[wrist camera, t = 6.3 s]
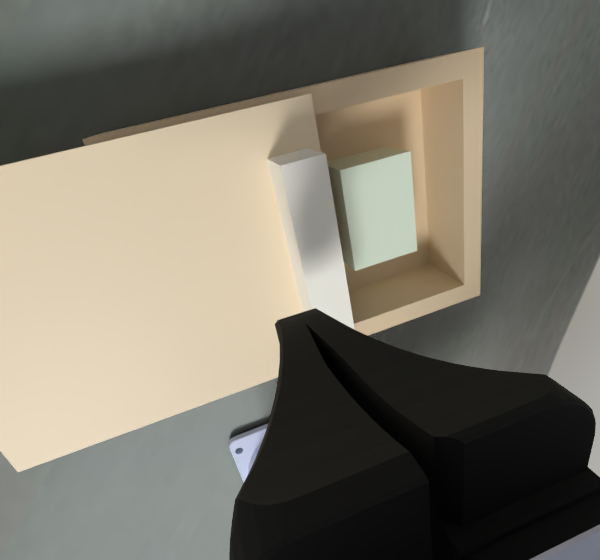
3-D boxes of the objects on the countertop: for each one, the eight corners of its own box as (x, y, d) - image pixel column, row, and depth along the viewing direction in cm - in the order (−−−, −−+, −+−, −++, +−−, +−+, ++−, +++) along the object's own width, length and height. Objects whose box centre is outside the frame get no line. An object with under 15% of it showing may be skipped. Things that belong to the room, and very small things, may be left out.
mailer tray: (436, 268, 25) (480, 295, 21) (191, 352, 22) (195, 398, 18) (427, 58, 19) (483, 46, 16) (101, 133, 17) (82, 139, 13)
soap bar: (393, 236, 22) (417, 250, 20) (336, 254, 21) (354, 271, 19) (384, 146, 20) (410, 151, 18) (320, 163, 19) (339, 170, 17)
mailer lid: (349, 342, 20) (372, 373, 17) (22, 461, 17) (-1, 515, 15) (305, 93, 14) (331, 90, 12) (-178, 207, 12) (-264, 230, 9)
